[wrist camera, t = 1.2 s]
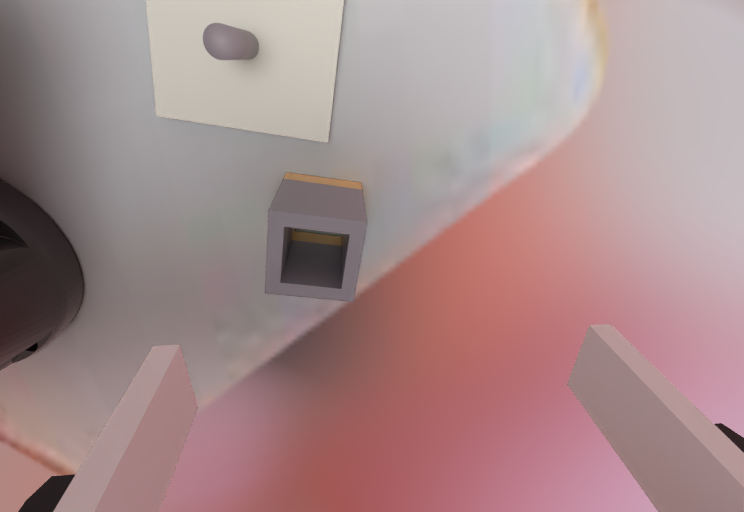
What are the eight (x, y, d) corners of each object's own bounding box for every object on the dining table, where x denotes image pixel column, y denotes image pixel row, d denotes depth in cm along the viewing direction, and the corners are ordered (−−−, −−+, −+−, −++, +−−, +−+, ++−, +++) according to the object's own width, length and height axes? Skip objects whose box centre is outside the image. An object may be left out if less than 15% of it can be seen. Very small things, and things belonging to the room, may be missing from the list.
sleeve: (282, 239, 27) (264, 293, 21) (286, 172, 25) (268, 209, 19) (350, 247, 28) (353, 302, 22) (361, 182, 26) (367, 222, 19)
